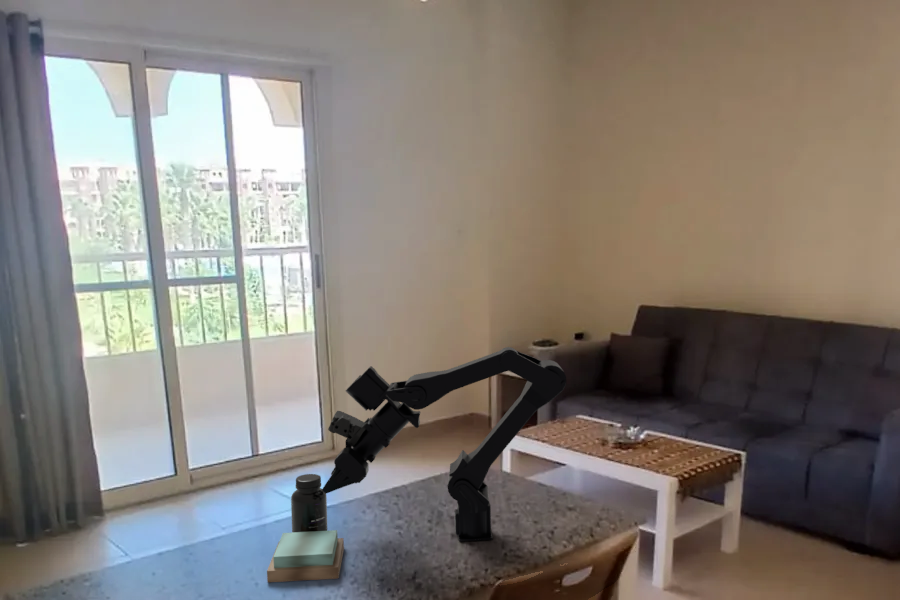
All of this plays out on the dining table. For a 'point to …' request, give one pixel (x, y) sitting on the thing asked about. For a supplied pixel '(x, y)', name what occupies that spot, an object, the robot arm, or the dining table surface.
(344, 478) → the robot arm
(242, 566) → the dining table surface
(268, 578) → the tower base
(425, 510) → the dining table surface
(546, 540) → the dining table surface
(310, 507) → the supplement bottle
